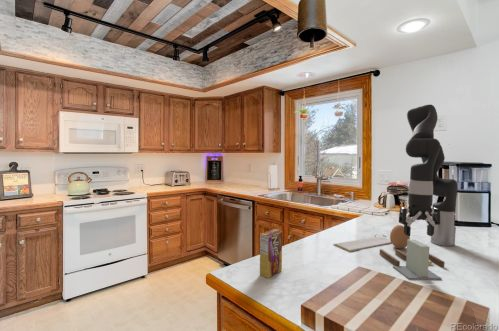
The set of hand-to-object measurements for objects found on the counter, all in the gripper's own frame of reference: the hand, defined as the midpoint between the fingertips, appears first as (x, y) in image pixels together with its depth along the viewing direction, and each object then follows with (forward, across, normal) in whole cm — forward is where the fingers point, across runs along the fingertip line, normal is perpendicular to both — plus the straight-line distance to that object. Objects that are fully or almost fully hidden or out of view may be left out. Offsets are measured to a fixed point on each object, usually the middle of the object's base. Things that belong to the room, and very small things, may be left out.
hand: (418, 235), depth 99 cm
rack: (+15, -5, -12) cm, 20 cm away
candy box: (+14, +55, 0) cm, 57 cm away
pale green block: (+14, 0, 0) cm, 14 cm away
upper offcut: (+14, -9, -12) cm, 21 cm away
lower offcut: (+16, -9, -12) cm, 22 cm away
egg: (+15, -10, -27) cm, 32 cm away
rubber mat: (+15, 0, 0) cm, 15 cm away
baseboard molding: (+16, +5, -34) cm, 37 cm away
